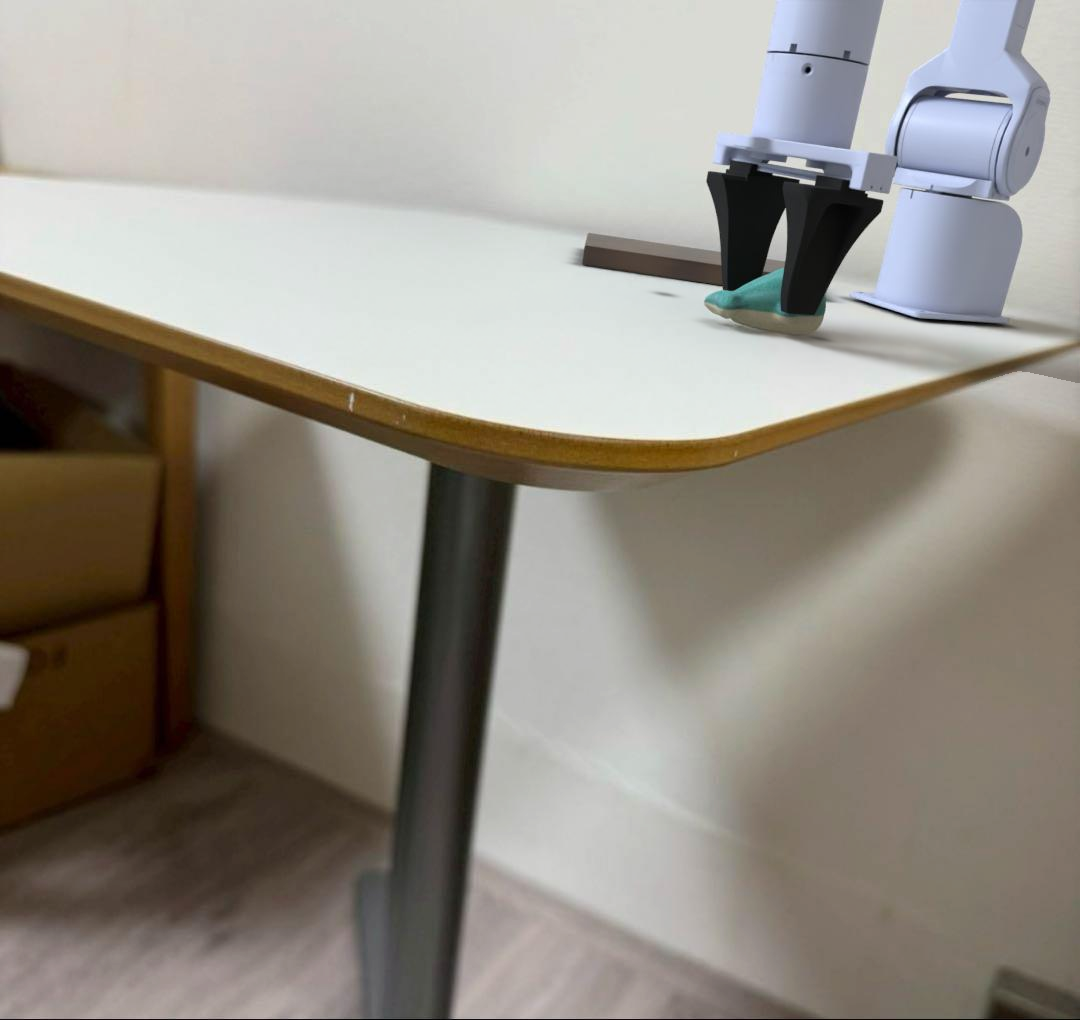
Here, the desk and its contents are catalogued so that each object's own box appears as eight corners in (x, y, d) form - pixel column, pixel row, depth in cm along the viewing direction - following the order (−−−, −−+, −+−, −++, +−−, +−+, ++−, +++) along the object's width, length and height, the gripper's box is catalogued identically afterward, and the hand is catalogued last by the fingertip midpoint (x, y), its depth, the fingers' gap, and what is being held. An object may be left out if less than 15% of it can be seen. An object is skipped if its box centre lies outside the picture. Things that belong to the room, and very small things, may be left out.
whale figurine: (837, 343, 63) (853, 280, 62) (727, 334, 61) (740, 268, 60) (791, 322, 68) (804, 263, 67) (687, 313, 66) (699, 251, 65)
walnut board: (793, 280, 90) (797, 263, 90) (814, 299, 81) (819, 279, 80) (585, 250, 90) (587, 232, 90) (581, 265, 81) (584, 245, 81)
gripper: (689, 48, 64) (651, 274, 68) (843, 50, 52) (783, 325, 56) (784, 66, 67) (741, 281, 71) (951, 72, 55) (885, 331, 59)
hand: (766, 302), depth 64 cm, fingers closed on whale figurine, 6 cm apart
